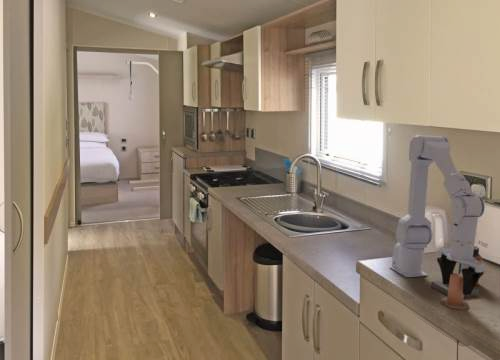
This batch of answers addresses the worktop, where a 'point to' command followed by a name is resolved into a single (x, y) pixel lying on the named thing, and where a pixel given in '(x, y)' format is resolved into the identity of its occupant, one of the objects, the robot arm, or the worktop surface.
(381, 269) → the worktop surface
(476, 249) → the supplement bottle
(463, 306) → the coaster
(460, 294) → the peg
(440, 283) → the eye block
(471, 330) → the worktop surface
